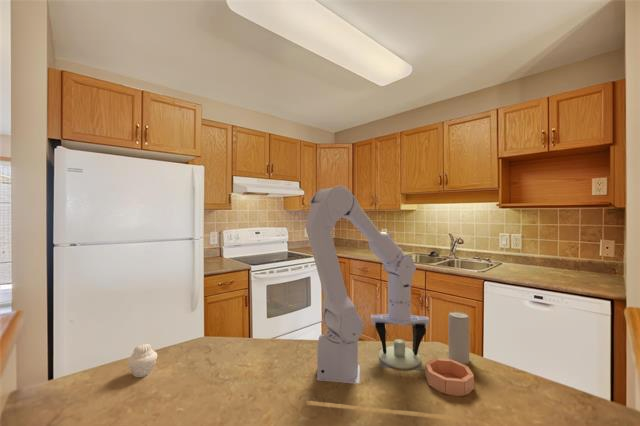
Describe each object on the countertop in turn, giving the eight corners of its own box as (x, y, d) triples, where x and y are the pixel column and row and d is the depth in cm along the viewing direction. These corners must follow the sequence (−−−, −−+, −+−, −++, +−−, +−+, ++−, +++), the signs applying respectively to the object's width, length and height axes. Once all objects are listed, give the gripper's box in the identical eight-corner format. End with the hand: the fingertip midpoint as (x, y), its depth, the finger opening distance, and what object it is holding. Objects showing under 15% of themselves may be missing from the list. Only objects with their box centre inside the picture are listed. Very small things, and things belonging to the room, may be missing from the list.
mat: (380, 369, 70) (380, 366, 70) (379, 350, 80) (379, 347, 80) (423, 372, 69) (423, 370, 69) (416, 352, 78) (416, 350, 78)
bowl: (431, 396, 60) (431, 378, 60) (423, 372, 69) (423, 357, 69) (478, 400, 58) (478, 382, 58) (463, 375, 67) (463, 360, 67)
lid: (379, 367, 70) (379, 349, 70) (378, 347, 80) (378, 332, 80) (424, 370, 68) (424, 352, 68) (417, 350, 79) (417, 334, 79)
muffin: (123, 373, 68) (124, 344, 68) (152, 364, 73) (152, 336, 73) (131, 384, 64) (131, 352, 64) (161, 373, 68) (161, 343, 69)
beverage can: (472, 367, 71) (471, 318, 71) (451, 365, 72) (450, 317, 72) (466, 357, 76) (466, 312, 76) (446, 356, 77) (446, 310, 77)
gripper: (371, 303, 71) (372, 358, 71) (432, 305, 70) (433, 361, 70) (370, 295, 78) (370, 345, 78) (425, 297, 77) (425, 348, 77)
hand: (399, 352), depth 74 cm, fingers open, 7 cm apart
